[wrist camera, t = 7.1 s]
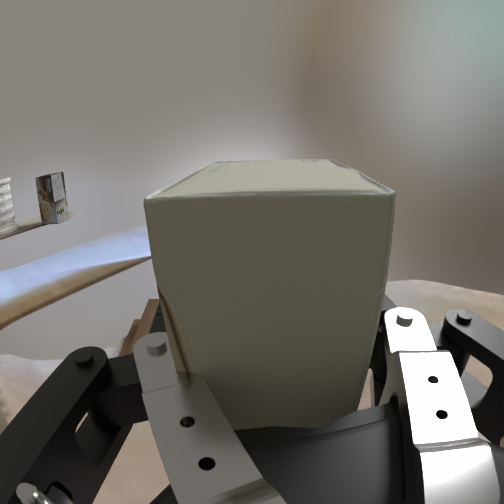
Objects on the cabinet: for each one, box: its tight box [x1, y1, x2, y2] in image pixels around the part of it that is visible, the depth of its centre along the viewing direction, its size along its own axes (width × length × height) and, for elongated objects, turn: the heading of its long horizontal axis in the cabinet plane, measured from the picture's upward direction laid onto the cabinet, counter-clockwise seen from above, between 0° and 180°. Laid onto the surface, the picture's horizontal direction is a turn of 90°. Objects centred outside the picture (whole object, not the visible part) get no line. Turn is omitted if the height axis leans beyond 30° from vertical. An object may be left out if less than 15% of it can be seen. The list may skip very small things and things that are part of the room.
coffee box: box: [35, 172, 70, 224], centre depth 85 cm, size 9×6×16 cm
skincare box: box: [144, 159, 396, 430], centre depth 10 cm, size 6×4×12 cm
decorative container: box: [0, 178, 19, 236], centre depth 78 cm, size 12×12×18 cm
